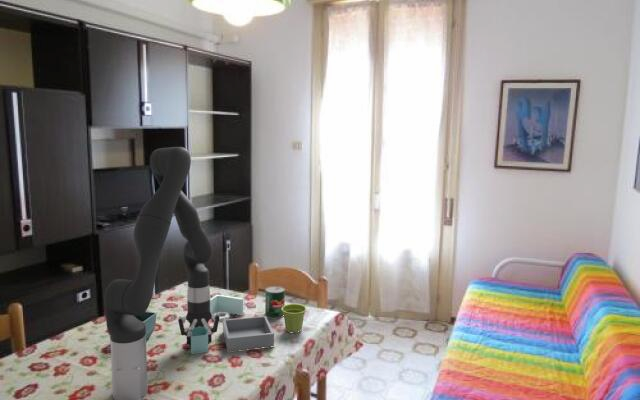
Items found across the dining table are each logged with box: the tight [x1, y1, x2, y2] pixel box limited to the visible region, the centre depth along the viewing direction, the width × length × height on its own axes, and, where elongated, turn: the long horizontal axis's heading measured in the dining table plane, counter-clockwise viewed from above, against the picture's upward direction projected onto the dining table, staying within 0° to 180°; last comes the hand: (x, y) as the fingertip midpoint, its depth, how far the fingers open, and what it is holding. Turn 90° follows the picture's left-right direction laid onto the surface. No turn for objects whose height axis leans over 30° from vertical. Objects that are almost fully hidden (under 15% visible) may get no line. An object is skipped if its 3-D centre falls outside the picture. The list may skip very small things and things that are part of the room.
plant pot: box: [282, 303, 307, 333], centre depth 174 cm, size 9×9×9 cm
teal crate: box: [190, 327, 209, 355], centre depth 159 cm, size 8×6×6 cm
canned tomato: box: [264, 285, 286, 319], centre depth 188 cm, size 8×8×11 cm
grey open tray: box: [222, 315, 275, 353], centre depth 166 cm, size 16×16×5 cm
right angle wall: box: [210, 294, 244, 323], centre depth 184 cm, size 12×12×8 cm
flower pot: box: [135, 310, 157, 341], centre depth 163 cm, size 9×9×9 cm
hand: (199, 344), depth 159 cm, fingers closed on teal crate, 5 cm apart
